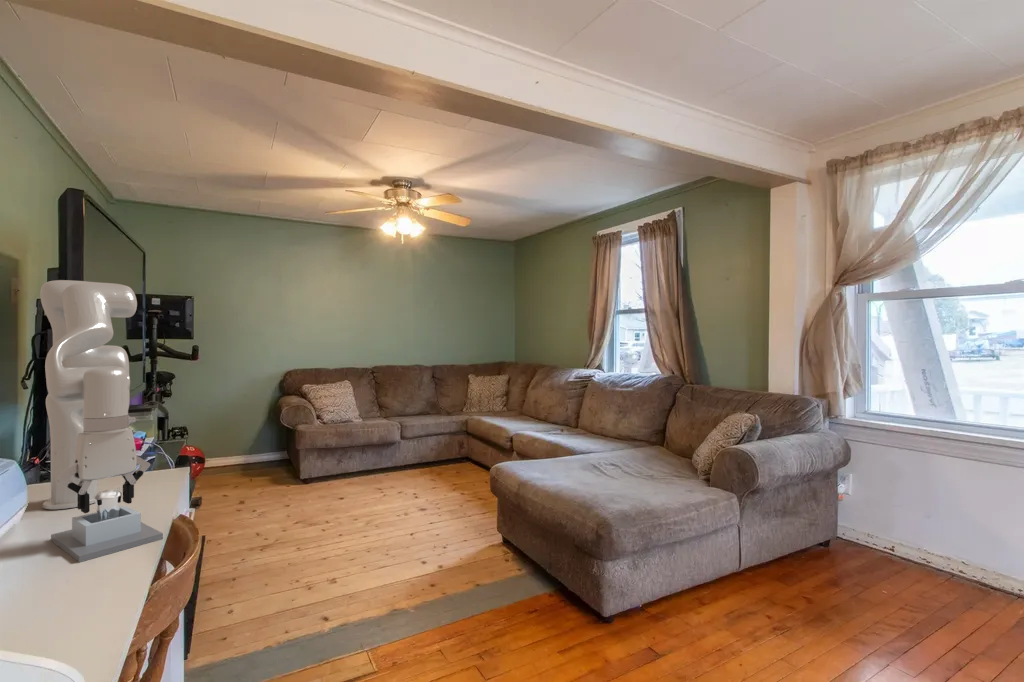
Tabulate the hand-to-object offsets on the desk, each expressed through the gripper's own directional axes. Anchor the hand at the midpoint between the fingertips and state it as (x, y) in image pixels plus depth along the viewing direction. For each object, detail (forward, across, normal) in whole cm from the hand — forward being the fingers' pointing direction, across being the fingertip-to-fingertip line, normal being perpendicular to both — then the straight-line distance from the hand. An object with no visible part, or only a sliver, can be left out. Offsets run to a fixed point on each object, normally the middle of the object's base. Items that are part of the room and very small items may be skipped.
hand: (106, 506), depth 107 cm
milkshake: (+6, 0, 0) cm, 6 cm away
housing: (+7, 0, 0) cm, 7 cm away
